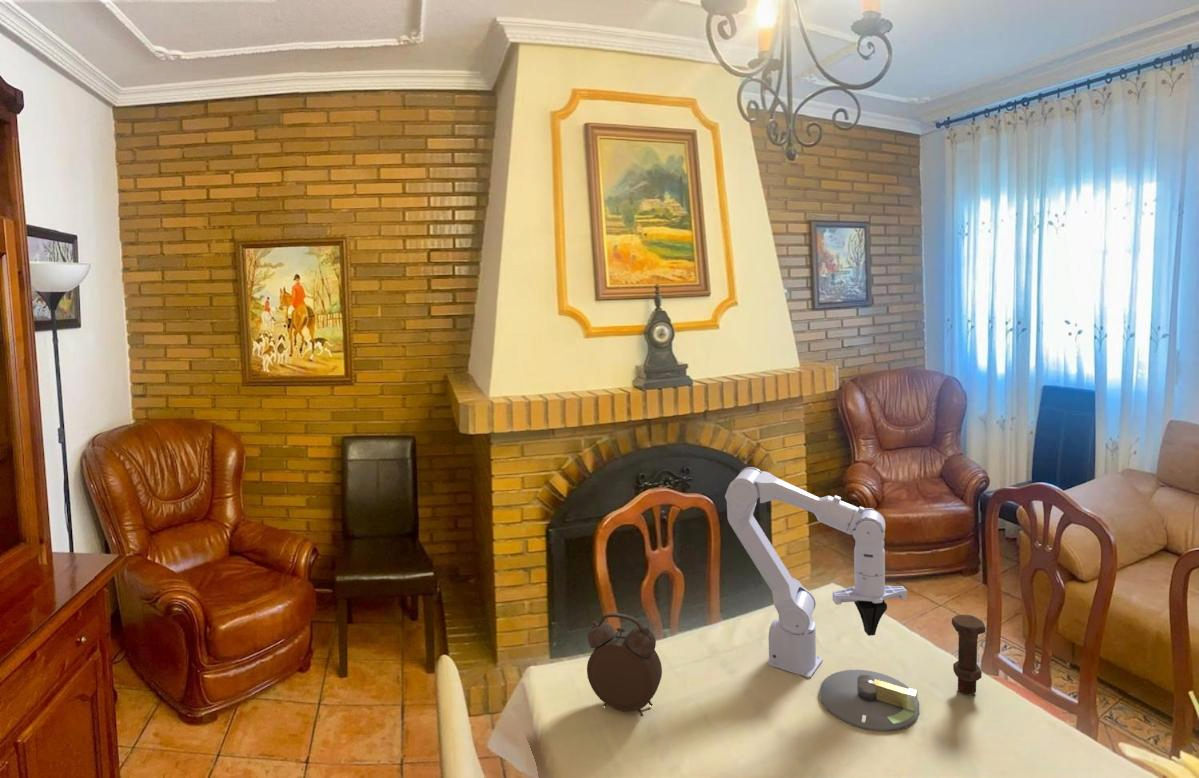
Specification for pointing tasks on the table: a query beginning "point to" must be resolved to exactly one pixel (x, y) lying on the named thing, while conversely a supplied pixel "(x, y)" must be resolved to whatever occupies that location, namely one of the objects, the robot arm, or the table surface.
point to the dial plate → (863, 703)
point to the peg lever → (886, 692)
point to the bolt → (967, 652)
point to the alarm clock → (623, 665)
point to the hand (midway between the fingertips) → (869, 633)
